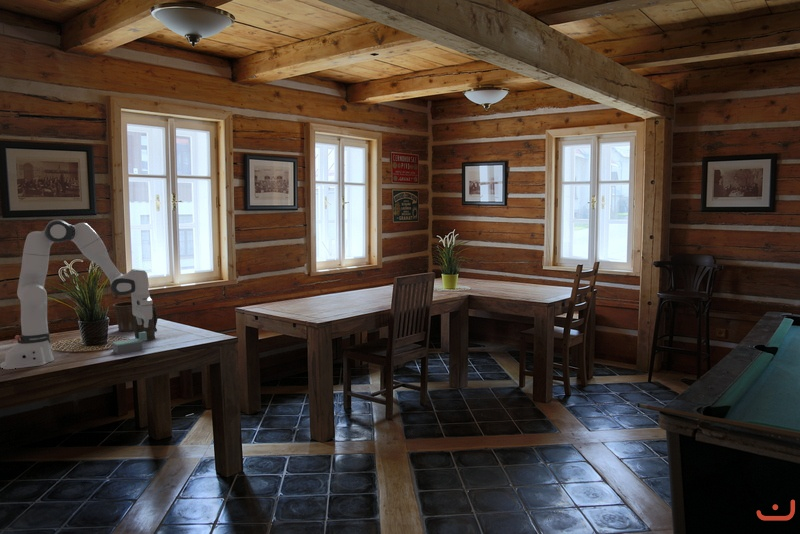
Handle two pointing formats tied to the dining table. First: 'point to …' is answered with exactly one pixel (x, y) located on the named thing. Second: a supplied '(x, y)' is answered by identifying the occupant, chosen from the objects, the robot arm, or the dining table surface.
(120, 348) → the tub
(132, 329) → the plant pot
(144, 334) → the lid
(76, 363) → the dining table surface
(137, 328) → the beer stein
